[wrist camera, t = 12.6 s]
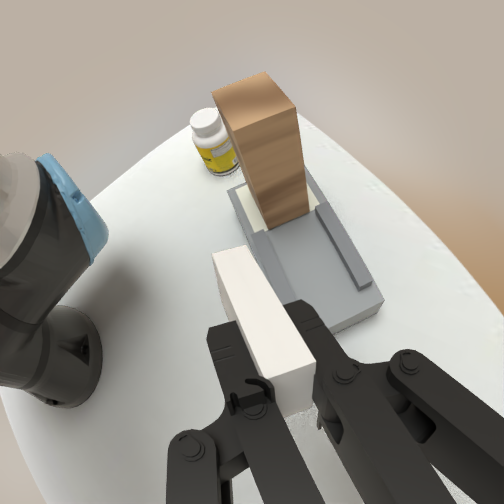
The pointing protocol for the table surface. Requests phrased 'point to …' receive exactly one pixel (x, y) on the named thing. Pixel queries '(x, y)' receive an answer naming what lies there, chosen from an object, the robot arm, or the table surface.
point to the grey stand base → (311, 259)
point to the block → (266, 146)
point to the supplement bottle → (213, 142)
